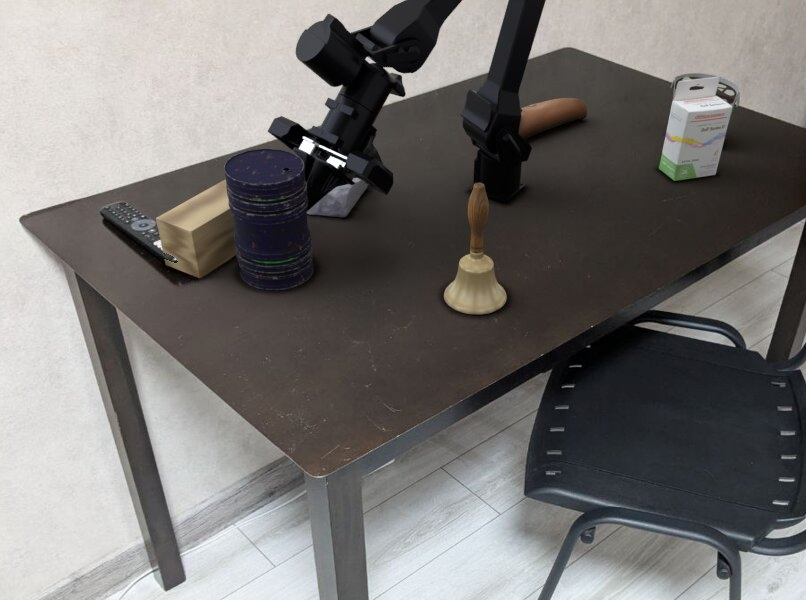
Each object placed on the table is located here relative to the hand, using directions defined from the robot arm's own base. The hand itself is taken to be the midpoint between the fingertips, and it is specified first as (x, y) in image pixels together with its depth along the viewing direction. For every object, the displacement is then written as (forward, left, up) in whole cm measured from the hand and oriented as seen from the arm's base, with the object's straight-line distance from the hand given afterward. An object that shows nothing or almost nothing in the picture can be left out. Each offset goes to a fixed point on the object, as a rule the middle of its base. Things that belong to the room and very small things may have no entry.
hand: (299, 211), depth 120 cm
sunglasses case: (-7, -57, -7) cm, 58 cm away
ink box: (-36, -57, -7) cm, 67 cm away
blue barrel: (+1, +5, -7) cm, 9 cm away
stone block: (+8, -16, -7) cm, 19 cm away
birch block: (+11, +5, -7) cm, 14 cm away
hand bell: (-25, -5, -7) cm, 26 cm away
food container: (-33, -72, -7) cm, 79 cm away
